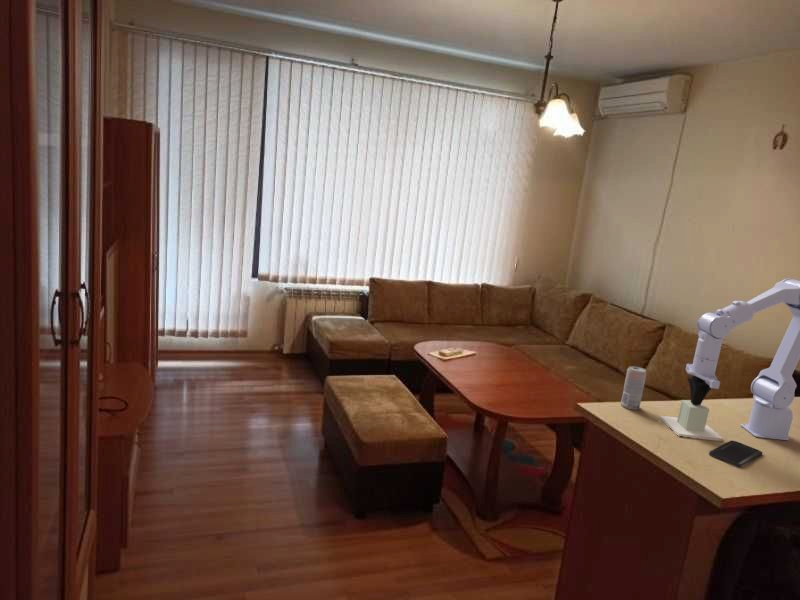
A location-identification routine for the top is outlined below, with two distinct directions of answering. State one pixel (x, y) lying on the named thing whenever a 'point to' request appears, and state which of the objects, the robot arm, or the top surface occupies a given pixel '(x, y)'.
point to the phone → (735, 453)
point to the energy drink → (633, 387)
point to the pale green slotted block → (692, 416)
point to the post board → (680, 431)
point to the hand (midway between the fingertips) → (695, 403)
